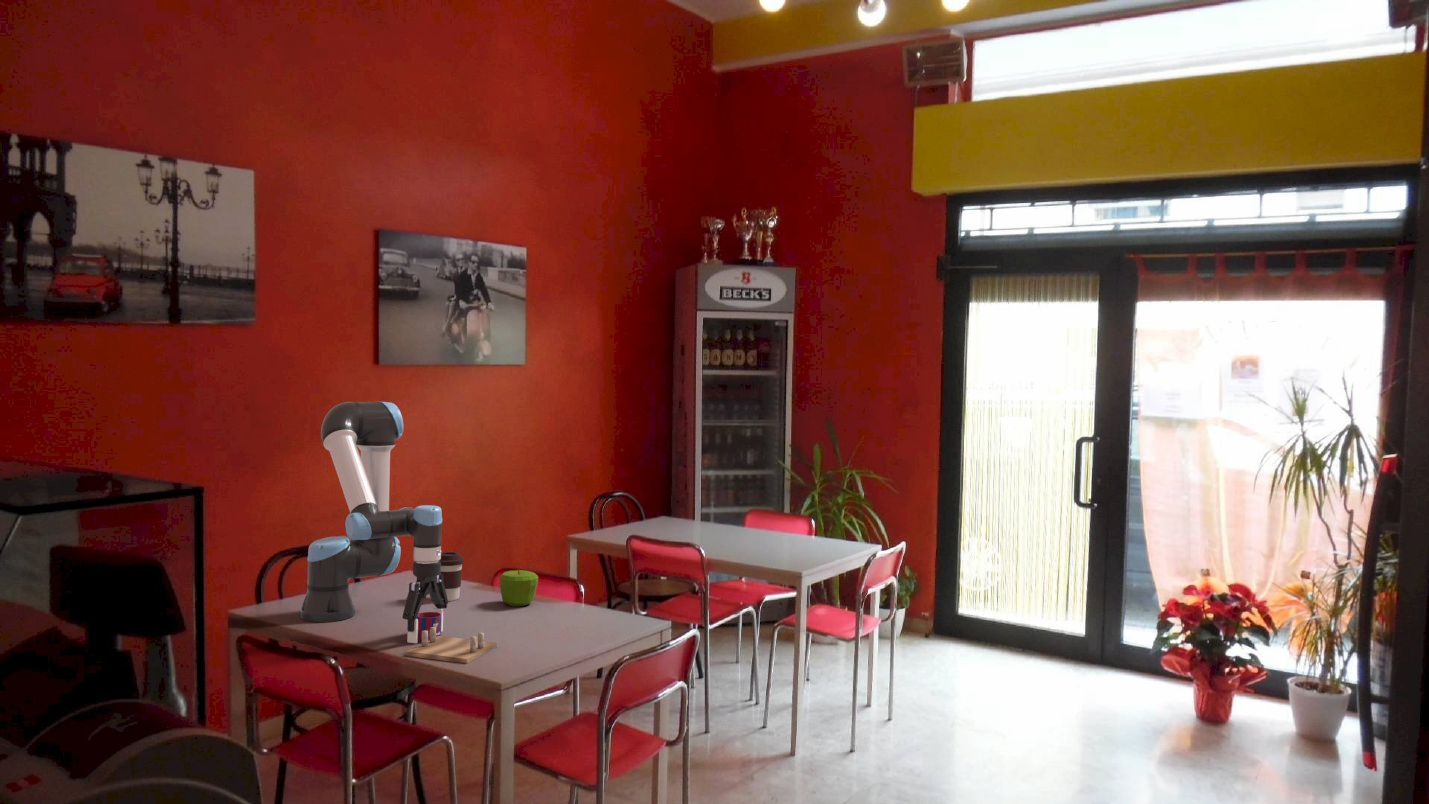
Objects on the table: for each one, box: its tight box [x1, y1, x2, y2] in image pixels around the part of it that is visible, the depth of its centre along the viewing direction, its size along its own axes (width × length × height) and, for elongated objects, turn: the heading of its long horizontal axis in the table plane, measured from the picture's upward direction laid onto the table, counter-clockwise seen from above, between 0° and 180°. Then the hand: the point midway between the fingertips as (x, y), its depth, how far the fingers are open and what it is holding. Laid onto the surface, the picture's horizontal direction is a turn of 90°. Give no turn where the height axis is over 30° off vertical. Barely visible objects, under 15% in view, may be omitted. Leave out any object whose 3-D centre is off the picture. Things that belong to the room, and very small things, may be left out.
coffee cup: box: [439, 551, 465, 602], centre depth 321 cm, size 10×10×15 cm
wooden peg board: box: [405, 627, 498, 664], centre depth 263 cm, size 18×16×5 cm
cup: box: [416, 611, 442, 643], centre depth 276 cm, size 7×10×7 cm
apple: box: [499, 569, 539, 607], centre depth 317 cm, size 12×12×11 cm
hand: (425, 636), depth 276 cm, fingers open, 12 cm apart
